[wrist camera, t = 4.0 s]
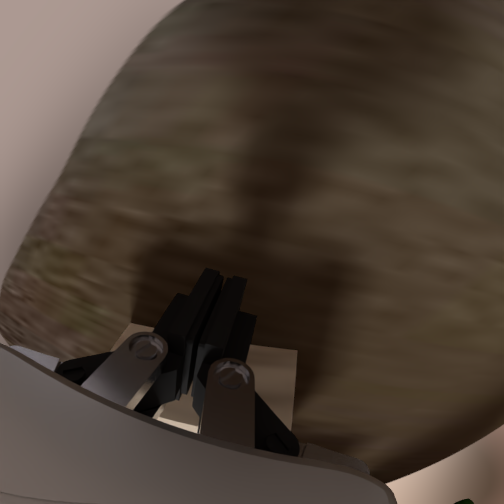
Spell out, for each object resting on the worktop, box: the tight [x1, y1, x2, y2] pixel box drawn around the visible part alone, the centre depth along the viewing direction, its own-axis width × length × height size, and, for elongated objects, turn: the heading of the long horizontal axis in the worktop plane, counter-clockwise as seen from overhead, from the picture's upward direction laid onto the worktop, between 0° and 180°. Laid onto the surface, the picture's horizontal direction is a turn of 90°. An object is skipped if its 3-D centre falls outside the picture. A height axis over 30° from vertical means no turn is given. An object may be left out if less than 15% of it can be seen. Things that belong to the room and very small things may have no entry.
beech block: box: [110, 323, 298, 433], centre depth 16 cm, size 8×10×6 cm
